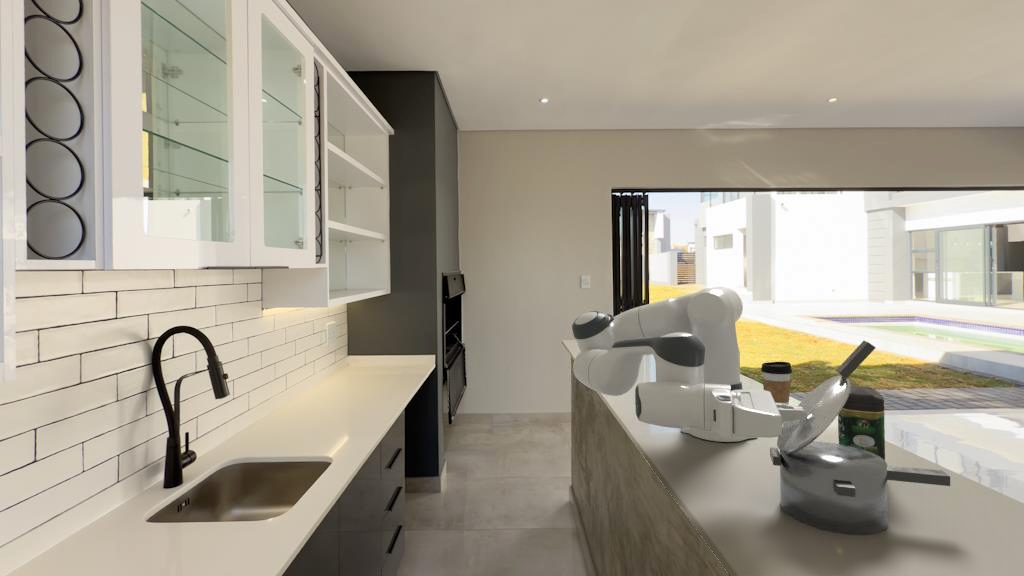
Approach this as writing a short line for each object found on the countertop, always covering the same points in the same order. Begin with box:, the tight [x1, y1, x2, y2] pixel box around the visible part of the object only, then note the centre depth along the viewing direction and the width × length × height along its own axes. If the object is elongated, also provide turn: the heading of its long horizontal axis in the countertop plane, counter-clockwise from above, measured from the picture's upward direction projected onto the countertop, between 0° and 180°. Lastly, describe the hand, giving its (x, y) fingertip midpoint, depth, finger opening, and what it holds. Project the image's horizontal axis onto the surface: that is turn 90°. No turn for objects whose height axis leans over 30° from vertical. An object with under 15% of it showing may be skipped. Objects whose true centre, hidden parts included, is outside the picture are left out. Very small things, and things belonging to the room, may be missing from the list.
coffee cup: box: [760, 361, 793, 405], centre depth 154 cm, size 8×8×15 cm
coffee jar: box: [837, 385, 886, 461], centre depth 104 cm, size 10×8×19 cm
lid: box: [776, 340, 876, 454], centre depth 90 cm, size 17×24×2 cm
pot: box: [769, 440, 951, 536], centre depth 89 cm, size 22×26×10 cm
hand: (805, 413), depth 91 cm, fingers closed, pressing on lid
